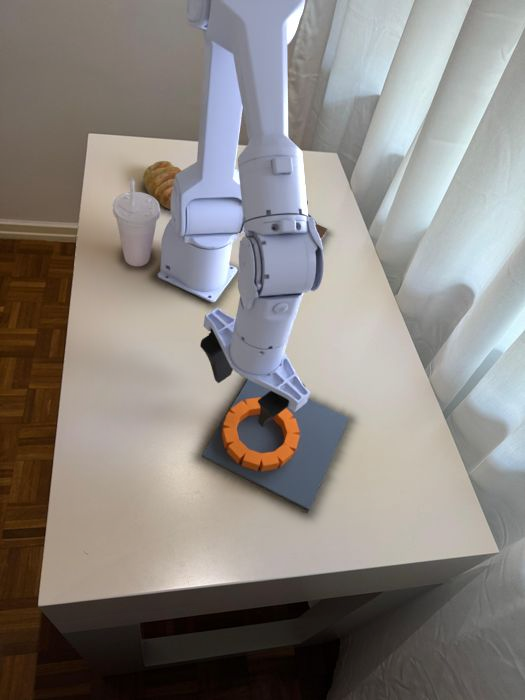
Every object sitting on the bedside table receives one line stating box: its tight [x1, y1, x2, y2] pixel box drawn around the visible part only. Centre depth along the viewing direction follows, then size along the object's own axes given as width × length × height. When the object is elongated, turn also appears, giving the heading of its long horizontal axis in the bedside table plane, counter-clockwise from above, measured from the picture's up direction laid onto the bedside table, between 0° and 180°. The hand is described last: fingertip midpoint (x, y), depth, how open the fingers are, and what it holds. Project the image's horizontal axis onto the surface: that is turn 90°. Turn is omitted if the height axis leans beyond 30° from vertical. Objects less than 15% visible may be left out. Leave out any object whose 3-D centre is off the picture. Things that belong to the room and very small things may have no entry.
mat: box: [202, 379, 350, 511], centre depth 71 cm, size 14×14×1 cm
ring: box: [222, 397, 300, 471], centre depth 70 cm, size 9×9×2 cm
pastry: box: [142, 160, 182, 211], centre depth 94 cm, size 9×7×4 cm
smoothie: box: [112, 177, 161, 267], centre depth 80 cm, size 6×6×14 cm
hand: (244, 398), depth 69 cm, fingers open, 7 cm apart
